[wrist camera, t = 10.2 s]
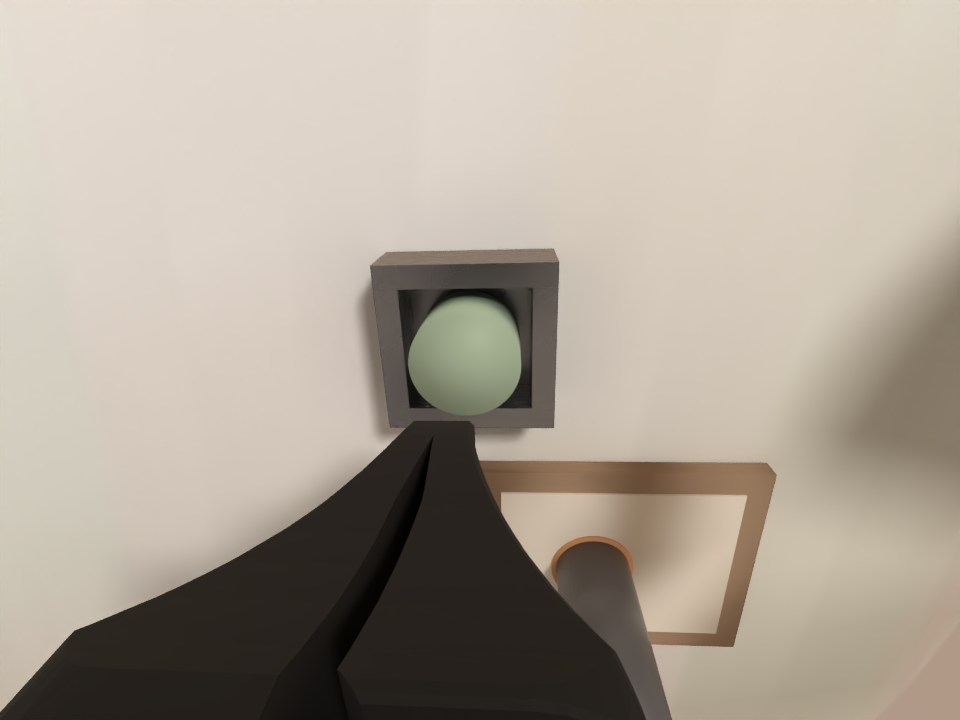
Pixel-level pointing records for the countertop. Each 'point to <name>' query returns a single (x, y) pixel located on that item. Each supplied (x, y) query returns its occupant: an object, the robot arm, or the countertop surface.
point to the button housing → (500, 273)
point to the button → (466, 354)
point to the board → (649, 532)
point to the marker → (613, 615)
